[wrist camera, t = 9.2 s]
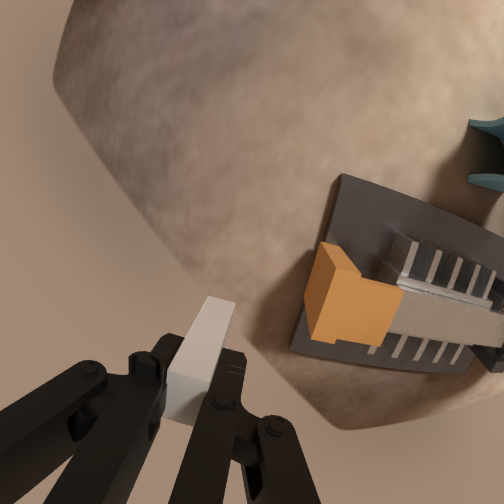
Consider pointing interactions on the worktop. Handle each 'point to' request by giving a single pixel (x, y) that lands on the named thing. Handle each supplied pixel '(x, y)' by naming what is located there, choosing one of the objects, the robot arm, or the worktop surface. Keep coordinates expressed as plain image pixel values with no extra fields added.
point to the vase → (500, 129)
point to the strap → (448, 320)
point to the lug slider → (347, 301)
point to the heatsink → (410, 274)
